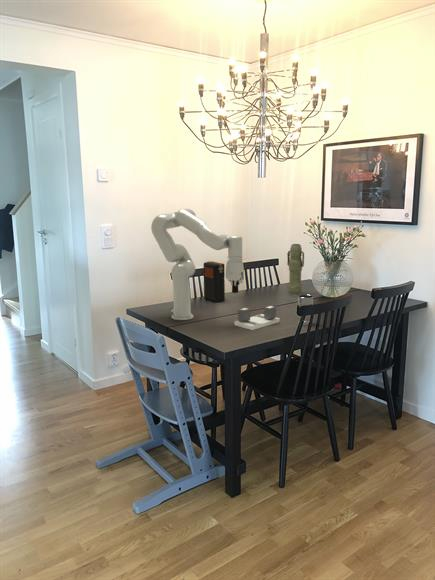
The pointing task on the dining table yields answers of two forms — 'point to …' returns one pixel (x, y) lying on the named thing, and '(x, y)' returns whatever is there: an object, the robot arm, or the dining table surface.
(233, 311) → the dining table surface
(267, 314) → the handle
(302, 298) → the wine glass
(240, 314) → the grey rounded block
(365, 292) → the dining table surface
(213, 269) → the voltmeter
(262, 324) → the white rectangular tray
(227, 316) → the dining table surface
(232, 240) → the robot arm
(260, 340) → the dining table surface
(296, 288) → the olive green tall statue
